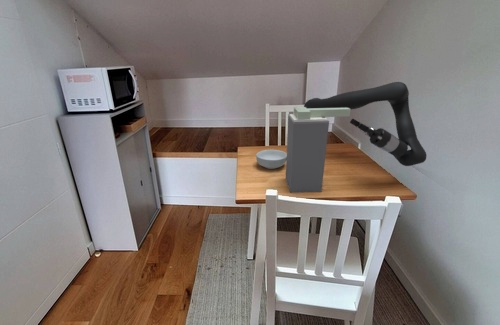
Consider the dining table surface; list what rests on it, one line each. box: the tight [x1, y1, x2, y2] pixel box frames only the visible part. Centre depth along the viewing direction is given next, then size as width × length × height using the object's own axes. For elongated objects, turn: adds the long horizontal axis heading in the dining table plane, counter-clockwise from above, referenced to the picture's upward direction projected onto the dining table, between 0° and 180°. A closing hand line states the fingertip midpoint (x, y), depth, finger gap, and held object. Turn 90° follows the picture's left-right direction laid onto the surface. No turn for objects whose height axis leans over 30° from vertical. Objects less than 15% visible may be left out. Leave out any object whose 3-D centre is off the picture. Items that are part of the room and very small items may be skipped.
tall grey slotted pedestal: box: [285, 113, 330, 194], centre depth 107 cm, size 14×14×32 cm
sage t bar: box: [293, 106, 352, 119], centre depth 100 cm, size 22×10×3 cm, turn 90°
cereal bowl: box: [255, 149, 287, 170], centre depth 133 cm, size 17×17×7 cm
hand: (355, 122), depth 102 cm, fingers open, 8 cm apart
